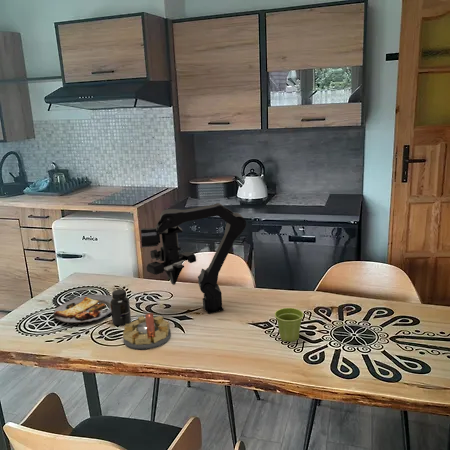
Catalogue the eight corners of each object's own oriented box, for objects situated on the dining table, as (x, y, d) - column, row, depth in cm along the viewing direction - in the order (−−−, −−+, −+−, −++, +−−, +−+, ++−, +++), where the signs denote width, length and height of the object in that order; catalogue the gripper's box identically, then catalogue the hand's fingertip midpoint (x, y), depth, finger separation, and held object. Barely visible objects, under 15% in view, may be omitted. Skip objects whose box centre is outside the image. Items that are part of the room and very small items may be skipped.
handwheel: (151, 318, 165) (149, 294, 163) (177, 331, 155) (175, 306, 153) (116, 334, 155) (113, 309, 153) (141, 349, 145) (138, 322, 142)
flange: (154, 321, 167) (153, 310, 165) (180, 336, 155) (179, 324, 154) (115, 338, 156) (113, 325, 155) (139, 355, 145) (138, 342, 144)
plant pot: (285, 348, 145) (285, 323, 142) (269, 335, 153) (269, 312, 151) (309, 340, 149) (309, 315, 147) (292, 328, 157) (292, 305, 155)
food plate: (84, 332, 161) (83, 323, 161) (40, 320, 173) (39, 311, 172) (131, 305, 182) (130, 297, 182) (89, 296, 194) (88, 289, 193)
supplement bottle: (126, 326, 164) (123, 296, 161) (109, 325, 165) (105, 295, 162) (134, 318, 170) (130, 288, 167) (117, 317, 172) (113, 287, 169)
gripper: (177, 234, 177) (180, 272, 181) (136, 246, 165) (140, 286, 169) (195, 240, 169) (198, 279, 173) (153, 252, 157) (157, 294, 161)
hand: (173, 284), depth 169 cm, fingers closed
